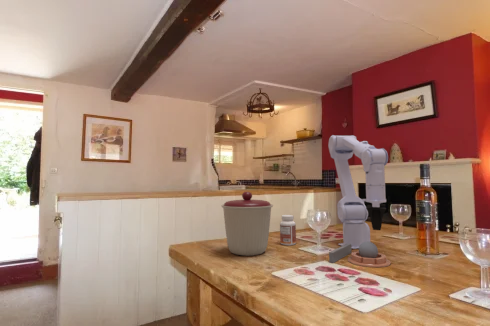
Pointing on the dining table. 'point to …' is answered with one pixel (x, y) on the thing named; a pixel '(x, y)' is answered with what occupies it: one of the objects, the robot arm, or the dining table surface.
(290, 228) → the pill bottle
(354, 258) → the bowl
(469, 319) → the dining table surface
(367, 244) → the ball
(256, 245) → the canister
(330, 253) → the low wall
